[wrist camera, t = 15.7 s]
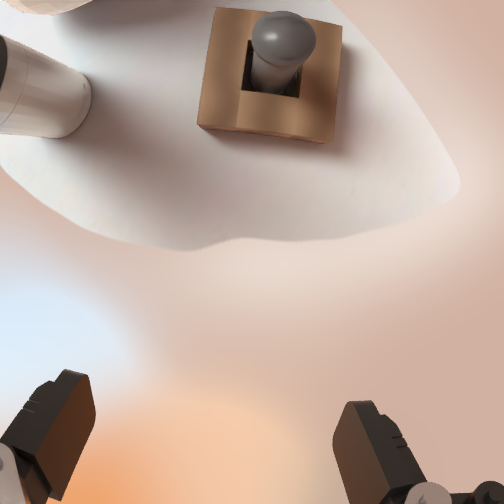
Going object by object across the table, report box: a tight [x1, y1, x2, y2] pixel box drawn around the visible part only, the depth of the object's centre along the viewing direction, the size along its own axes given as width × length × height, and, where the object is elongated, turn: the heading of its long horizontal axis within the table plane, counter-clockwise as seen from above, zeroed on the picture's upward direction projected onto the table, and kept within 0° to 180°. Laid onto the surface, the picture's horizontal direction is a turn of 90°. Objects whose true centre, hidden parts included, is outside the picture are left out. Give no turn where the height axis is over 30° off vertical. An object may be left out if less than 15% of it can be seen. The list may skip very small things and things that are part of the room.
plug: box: [251, 11, 316, 95], centre depth 27 cm, size 5×5×13 cm
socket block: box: [197, 7, 342, 144], centre depth 31 cm, size 14×14×4 cm
